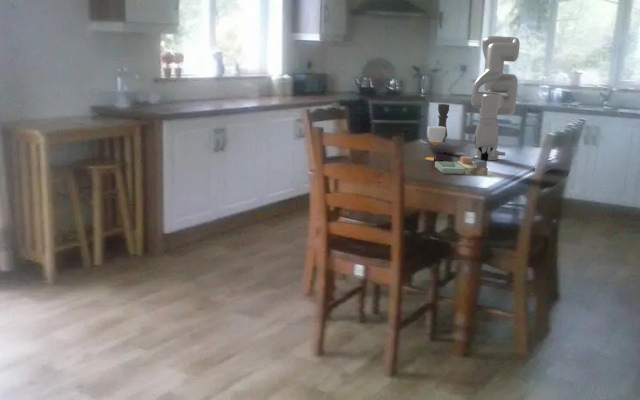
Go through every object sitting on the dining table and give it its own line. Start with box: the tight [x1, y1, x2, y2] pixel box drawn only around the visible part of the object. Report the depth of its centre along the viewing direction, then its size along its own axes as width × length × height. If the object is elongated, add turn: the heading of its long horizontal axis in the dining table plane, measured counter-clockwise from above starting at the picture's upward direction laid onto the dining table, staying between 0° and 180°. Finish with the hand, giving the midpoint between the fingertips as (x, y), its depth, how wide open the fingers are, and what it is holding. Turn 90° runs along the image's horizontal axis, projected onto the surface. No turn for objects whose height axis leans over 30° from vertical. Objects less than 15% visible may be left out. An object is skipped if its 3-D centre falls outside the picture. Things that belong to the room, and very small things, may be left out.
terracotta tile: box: [459, 155, 474, 164], centre depth 309 cm, size 4×4×2 cm
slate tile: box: [473, 159, 488, 168], centre depth 300 cm, size 4×4×2 cm
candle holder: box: [437, 103, 450, 143], centre depth 352 cm, size 6×6×25 cm
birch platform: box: [456, 160, 488, 176], centre depth 305 cm, size 10×16×3 cm, turn 3°
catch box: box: [434, 161, 465, 175], centre depth 305 cm, size 10×16×2 cm, turn 3°
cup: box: [424, 125, 447, 162], centre depth 330 cm, size 9×9×16 cm
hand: (484, 161), depth 309 cm, fingers closed
